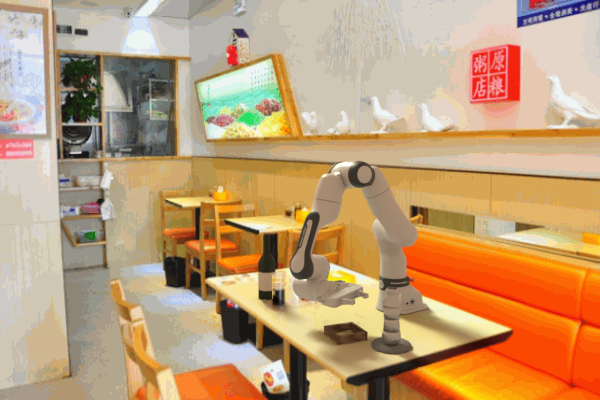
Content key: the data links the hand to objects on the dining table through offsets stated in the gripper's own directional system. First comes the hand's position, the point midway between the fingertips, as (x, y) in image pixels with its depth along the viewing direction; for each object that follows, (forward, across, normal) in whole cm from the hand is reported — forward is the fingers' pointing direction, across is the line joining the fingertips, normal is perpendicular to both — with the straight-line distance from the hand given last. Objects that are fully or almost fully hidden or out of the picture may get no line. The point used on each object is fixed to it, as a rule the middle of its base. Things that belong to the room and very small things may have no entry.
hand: (361, 299), depth 196 cm
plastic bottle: (+13, -1, +14) cm, 19 cm away
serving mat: (+13, -1, +14) cm, 19 cm away
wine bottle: (-60, +16, +14) cm, 63 cm away
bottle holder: (-5, -3, +14) cm, 15 cm away
